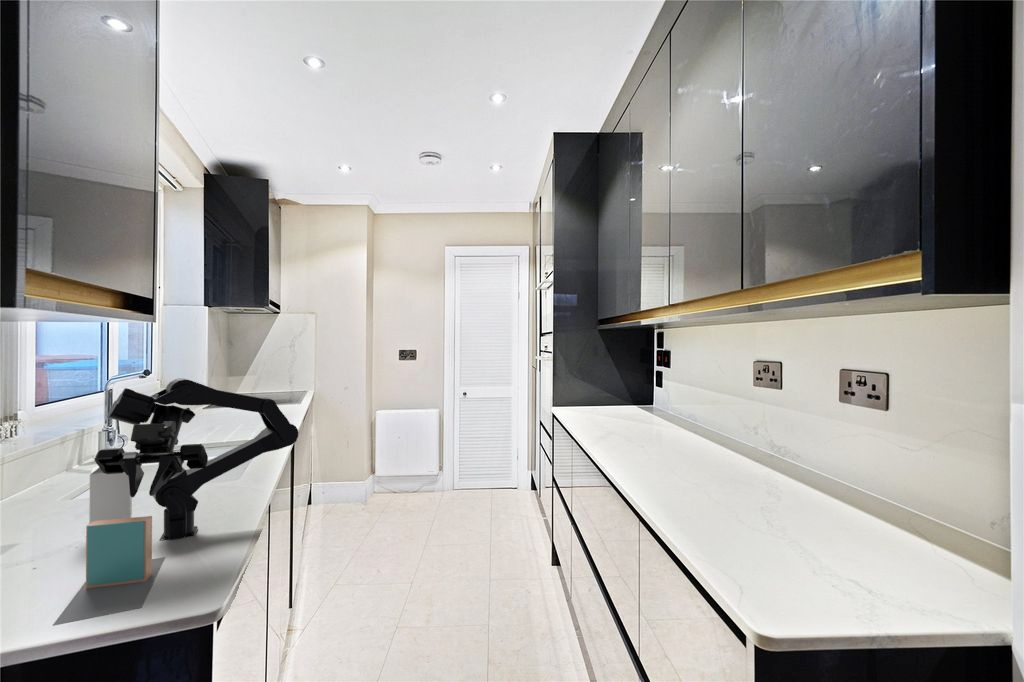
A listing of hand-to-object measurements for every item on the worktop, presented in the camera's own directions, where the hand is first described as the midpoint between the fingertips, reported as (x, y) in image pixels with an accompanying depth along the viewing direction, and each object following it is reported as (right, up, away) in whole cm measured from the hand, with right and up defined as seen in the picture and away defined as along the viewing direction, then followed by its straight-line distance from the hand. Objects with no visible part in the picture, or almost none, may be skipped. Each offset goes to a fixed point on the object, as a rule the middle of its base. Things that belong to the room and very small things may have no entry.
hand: (141, 495), depth 96 cm
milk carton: (-18, -14, +15) cm, 27 cm away
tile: (+2, -13, -8) cm, 16 cm away
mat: (+3, -13, -10) cm, 17 cm away
